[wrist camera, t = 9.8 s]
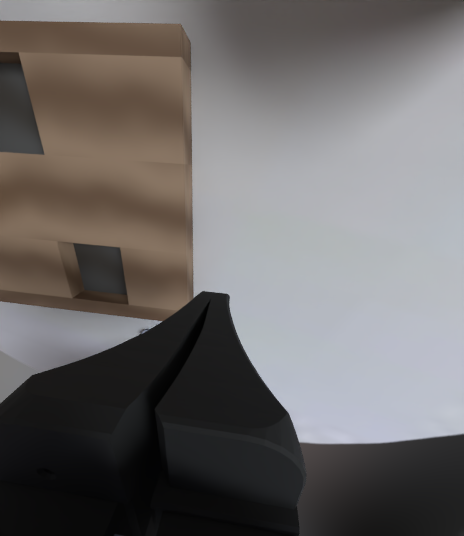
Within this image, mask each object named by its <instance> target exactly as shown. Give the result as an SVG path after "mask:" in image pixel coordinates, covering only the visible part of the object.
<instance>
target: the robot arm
mask: <svg viewBox="0 0 464 536" xmlns="http://www.w3.org/2000/svg"><path fill="white" fill-rule="evenodd" d="M229 299H230V296H229V295H228V294H223V293H214V292H205V291H202V292H201V293H200V294H198V295H197V296H196V297H195V298H193V299H192V300H191V301H190V302H189V303H187V304H186V305H185V306H183V307H182V308H181V309H180V310H178V311H177V312H176V313H174V314H173V315H171V316H170V317H168V318H167V319H166V320H164V321H163V322H161V323H160V324H158V325H156V326H155V327H153V328H151V329H149V330H144V331H143V332H142V334H140V335H138V336H136V337H134V338H132V339H130V340H128V341H126V342H124V343H122V344H119V345H117V346H115V347H113V348H111V349H108V350H106V351H103V352H101V353H98V354H96V355H93V356H90V357H88V358H85V359H82V360H79V361H76V362H73V363H70V364H67V365H64V366H61V367H58V368H54V369H51V370H48V371H45V372H42V373H38V374H35V375H32V376H31V377H30V378H29V379H27V380H26V381H25V382H24V383H23V384H22V385H21V386H20V387H19V388H17V389H16V390H15V391H14V392H13V393H12V394H11V395H9V396H8V397H7V398H6V399H5V400H4V401H3V402H2V403H1V404H0V536H299V521H298V512H297V504H298V501H299V498H300V496H301V494H302V491H303V488H304V486H305V482H306V469H305V463H304V459H303V455H302V451H301V448H300V444H299V441H298V438H297V435H296V431H295V429H294V426H293V423H292V420H291V418H290V415H289V413H288V412H287V411H286V410H285V409H284V407H283V406H282V405H281V404H280V403H279V401H278V400H277V399H276V398H275V396H274V395H273V394H272V392H271V391H270V390H269V388H268V387H267V386H266V384H265V383H264V382H263V380H262V379H261V377H260V376H259V374H258V373H257V371H256V369H255V368H254V366H253V365H252V363H251V361H250V360H249V358H248V356H247V354H246V352H245V351H244V349H243V346H242V344H241V342H240V340H239V338H238V335H237V333H236V330H235V327H234V324H233V321H232V317H231V313H230V308H229Z"/></svg>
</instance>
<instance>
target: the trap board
mask: <svg viewBox="0 0 464 536" xmlns="http://www.w3.org/2000/svg"><path fill="white" fill-rule="evenodd" d="M192 299H193V221H192V134H191V47H190V41H189V39H188V37H187V35H186V33H185V31H184V29H183V27H182V25H181V24H153V23H96V22H39V21H0V301H2V302H10V303H18V304H27V305H35V306H43V307H51V308H59V309H68V310H76V311H84V312H92V313H100V314H108V315H117V316H125V317H133V318H141V319H149V320H158V321H164V320H166V319H167V318H168V317H170V316H171V315H173V314H174V313H176V312H177V311H178V310H180V309H181V308H182V307H183V306H185V305H186V304H187V303H189V302H190V301H191V300H192Z"/></svg>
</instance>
